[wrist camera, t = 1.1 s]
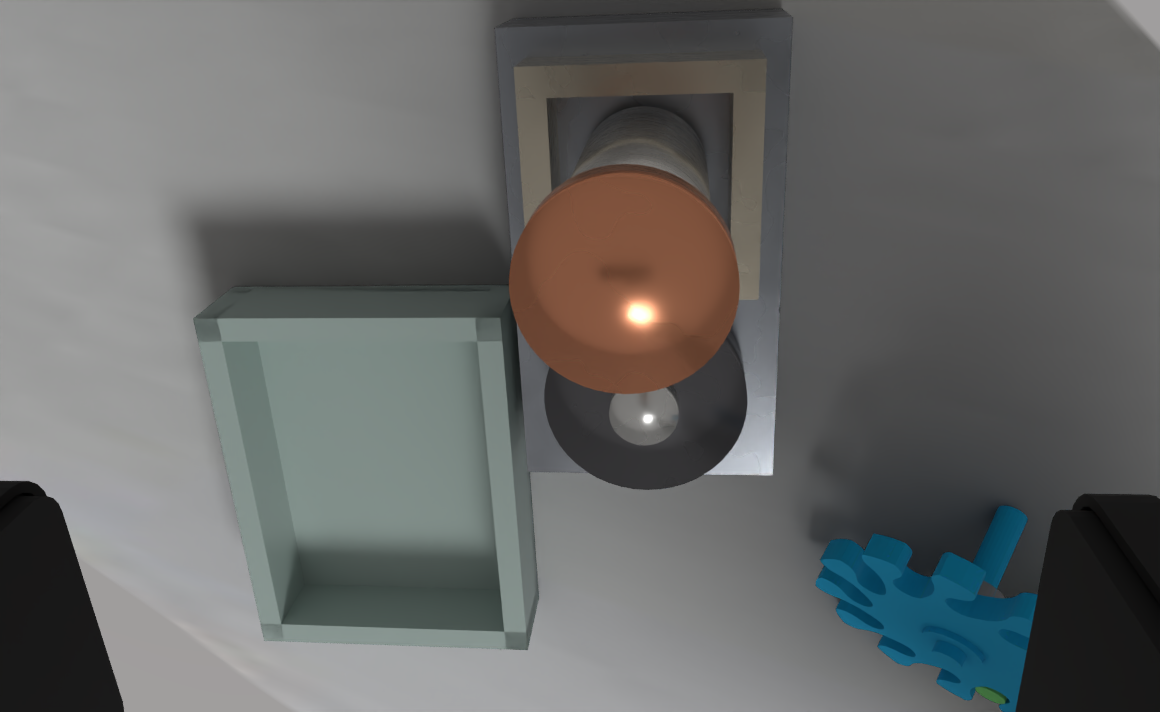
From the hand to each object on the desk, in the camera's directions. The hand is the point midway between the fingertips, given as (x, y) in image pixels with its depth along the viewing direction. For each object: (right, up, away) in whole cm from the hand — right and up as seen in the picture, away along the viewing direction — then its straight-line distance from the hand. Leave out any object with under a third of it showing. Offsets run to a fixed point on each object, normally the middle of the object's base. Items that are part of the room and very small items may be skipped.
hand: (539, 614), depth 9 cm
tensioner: (+3, +6, +22) cm, 23 cm away
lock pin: (+2, +8, +18) cm, 20 cm away
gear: (+14, -6, +26) cm, 30 cm away
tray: (-6, -1, +26) cm, 27 cm away
